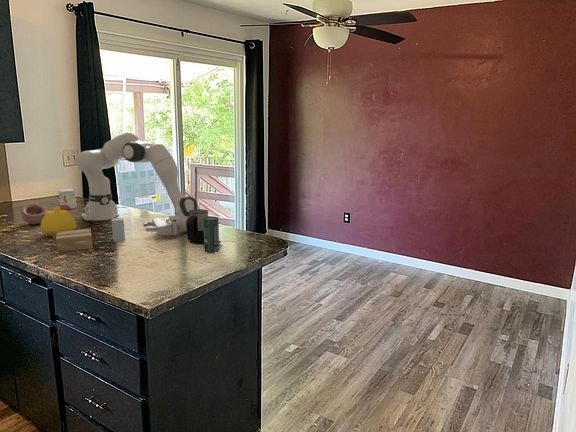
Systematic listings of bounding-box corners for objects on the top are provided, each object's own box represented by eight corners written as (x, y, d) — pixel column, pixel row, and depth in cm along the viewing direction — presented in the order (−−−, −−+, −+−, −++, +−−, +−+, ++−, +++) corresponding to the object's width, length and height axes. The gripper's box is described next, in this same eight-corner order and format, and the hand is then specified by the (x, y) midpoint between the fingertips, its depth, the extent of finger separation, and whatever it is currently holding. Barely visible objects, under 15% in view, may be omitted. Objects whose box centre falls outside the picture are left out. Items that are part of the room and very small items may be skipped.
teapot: (32, 233, 216) (28, 206, 213) (64, 227, 228) (61, 202, 225) (50, 241, 204) (47, 212, 201) (83, 234, 216) (80, 207, 212)
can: (208, 248, 194) (207, 216, 191) (221, 250, 193) (220, 217, 189) (202, 252, 189) (201, 218, 185) (215, 253, 187) (214, 220, 184)
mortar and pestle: (28, 227, 227) (25, 206, 224) (18, 224, 234) (16, 203, 231) (52, 223, 236) (49, 202, 234) (42, 220, 243) (39, 200, 241)
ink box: (63, 209, 270) (61, 191, 268) (59, 208, 274) (57, 190, 271) (77, 208, 277) (75, 189, 274) (73, 206, 280) (72, 188, 277)
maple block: (58, 244, 200) (57, 231, 199) (91, 240, 206) (90, 228, 205) (57, 252, 188) (56, 239, 186) (92, 248, 194) (91, 235, 192)
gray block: (113, 238, 208) (111, 218, 206) (124, 237, 210) (122, 217, 208) (113, 241, 204) (112, 220, 202) (125, 240, 206) (123, 220, 204)
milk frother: (192, 238, 210) (191, 208, 207) (225, 239, 210) (224, 209, 206) (184, 247, 196) (183, 215, 193) (219, 247, 196) (218, 215, 193)
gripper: (169, 214, 225) (141, 216, 219) (176, 222, 207) (146, 225, 201) (170, 225, 226) (142, 228, 221) (177, 235, 208) (147, 238, 202)
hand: (144, 227), depth 211 cm, fingers open, 8 cm apart
